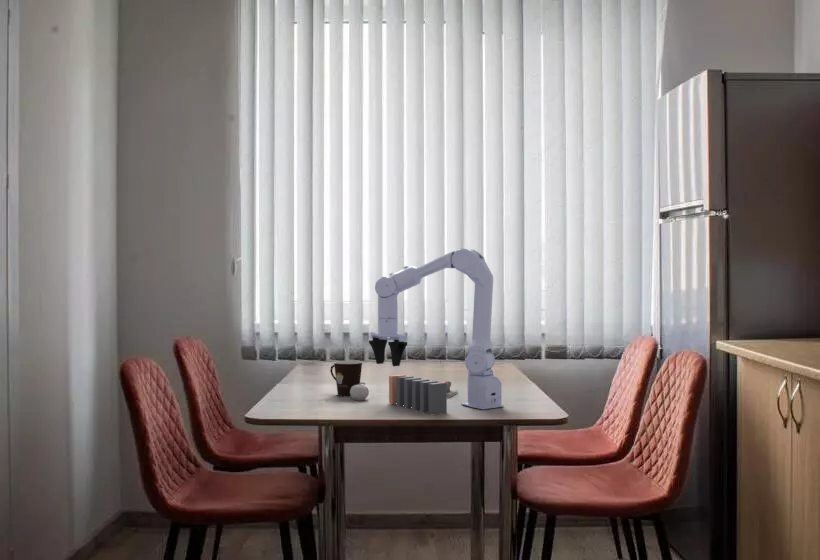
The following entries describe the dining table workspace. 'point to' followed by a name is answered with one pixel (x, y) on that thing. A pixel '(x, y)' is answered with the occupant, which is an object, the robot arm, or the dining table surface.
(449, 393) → the packaged product
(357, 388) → the garlic
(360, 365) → the coffee mug
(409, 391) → the domino
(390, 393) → the domino
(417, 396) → the domino
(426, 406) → the domino
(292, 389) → the dining table surface
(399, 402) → the domino
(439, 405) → the domino
